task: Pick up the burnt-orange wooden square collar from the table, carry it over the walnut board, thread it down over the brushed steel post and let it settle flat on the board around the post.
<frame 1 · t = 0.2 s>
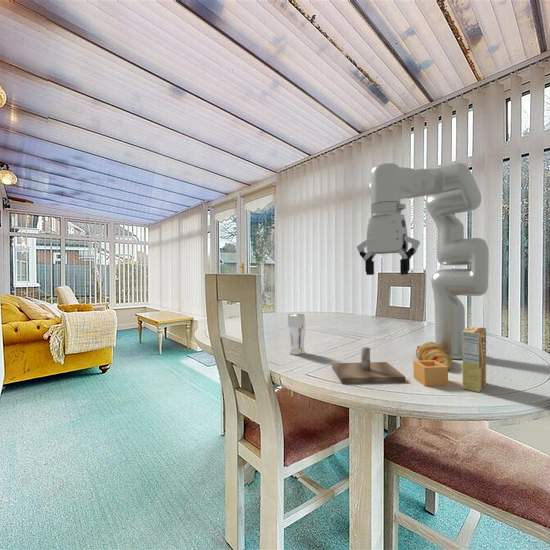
hand: (386, 274, 81), 30 cm above the table, tool pointing down, fingers open, 9 cm apart
beer glass: (297, 353, 117), on the table
post board: (365, 374, 91), on the table
collar: (430, 381, 85), on the table
candy box: (475, 386, 81), on the table
croissant: (432, 363, 103), on the table
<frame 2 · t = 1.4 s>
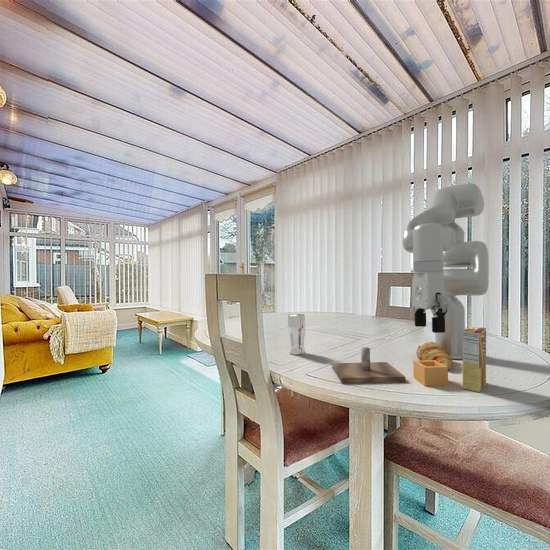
hand: (429, 329, 84), 15 cm above the table, tool pointing down, fingers open, 9 cm apart
nothing on the table moved.
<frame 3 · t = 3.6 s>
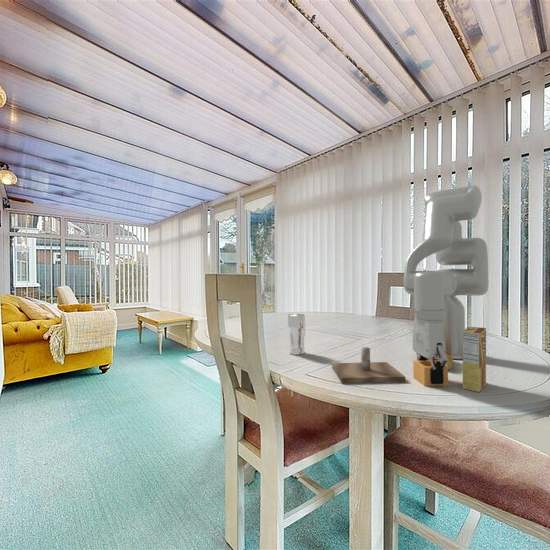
hand: (430, 378, 84), 1 cm above the table, tool pointing down, fingers closed on collar, 6 cm apart
collar: (430, 381, 85), on the table, touching gripper
everything else where it was.
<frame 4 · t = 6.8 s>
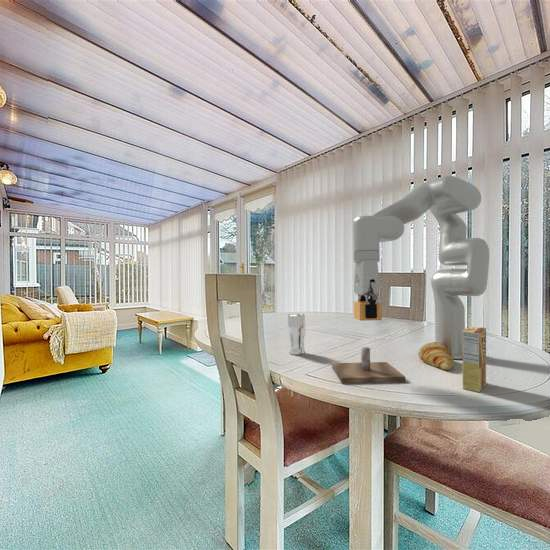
hand: (367, 315, 91), 18 cm above the table, tool pointing down, fingers closed on collar, 6 cm apart
collar: (367, 318, 91), point 17 cm above the table, touching gripper
everything else where it was.
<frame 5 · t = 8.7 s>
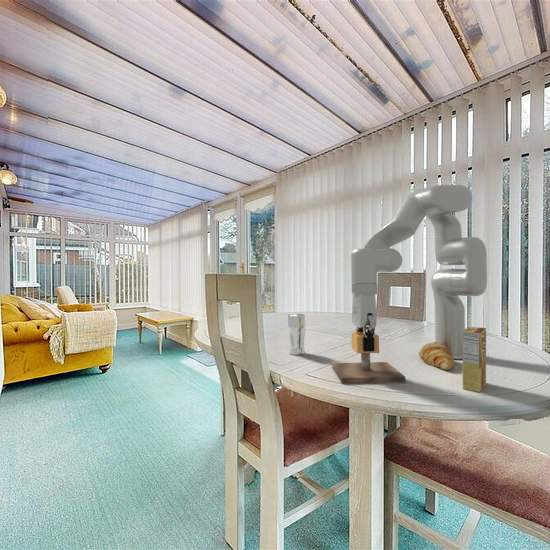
hand: (365, 347, 91), 8 cm above the table, tool pointing down, fingers closed on collar, 6 cm apart
collar: (364, 350, 91), point 7 cm above the table, touching gripper
everything else where it was.
when the fingers open (4 cm above the table, at t = 10.4 s): collar drops 1 cm, resting on post board.
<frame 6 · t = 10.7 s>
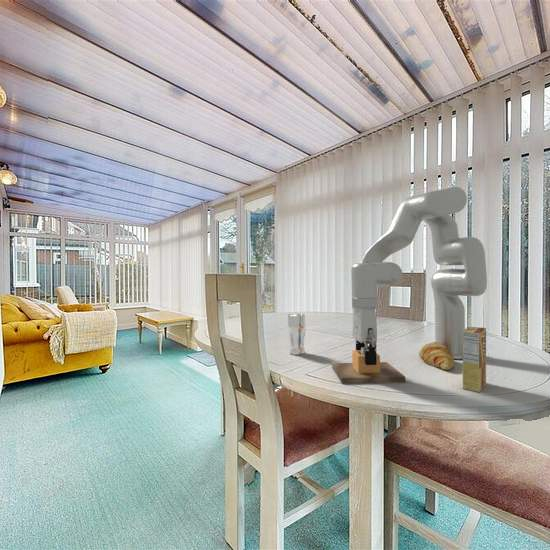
hand: (365, 359, 91), 4 cm above the table, tool pointing down, fingers open, 9 cm apart
collar: (365, 369, 91), point 1 cm above the table, touching post board
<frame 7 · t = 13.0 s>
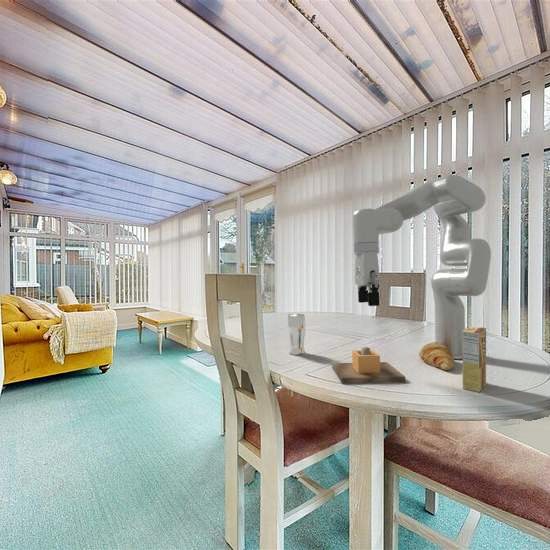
hand: (368, 303, 94), 21 cm above the table, tool pointing down, fingers open, 9 cm apart
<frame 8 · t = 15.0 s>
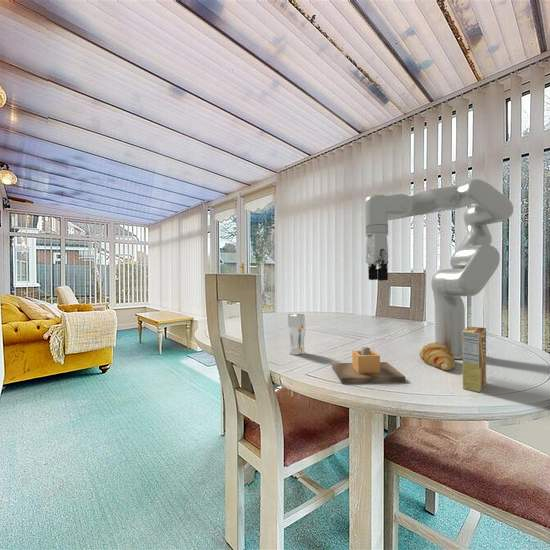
hand: (377, 280, 105), 28 cm above the table, tool pointing down, fingers open, 9 cm apart
at the end: collar 0.0 cm from the post board (horizontally); collar point 1.5 cm above the table; collar tilted 0° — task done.
